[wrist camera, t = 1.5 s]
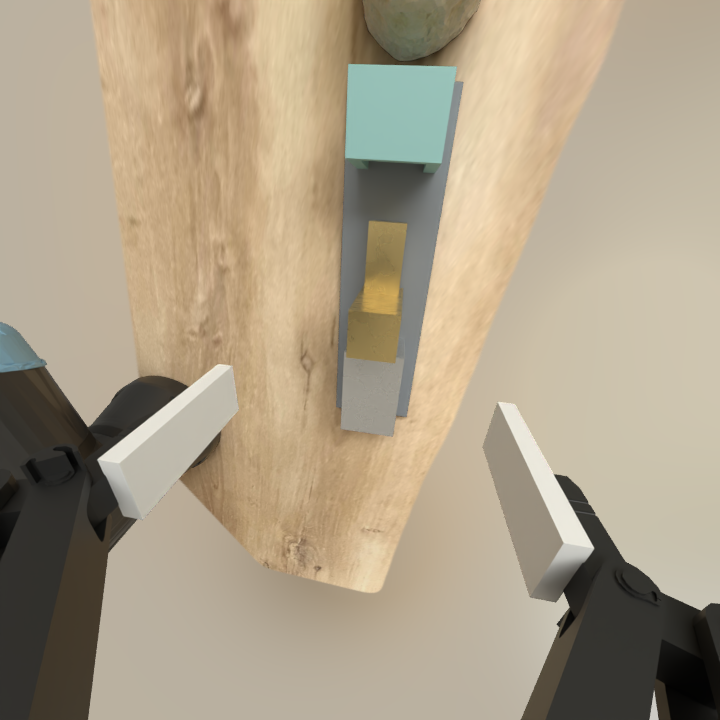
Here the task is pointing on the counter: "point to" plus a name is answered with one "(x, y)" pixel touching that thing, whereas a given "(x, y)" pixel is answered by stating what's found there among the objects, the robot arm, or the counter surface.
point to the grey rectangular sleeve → (371, 393)
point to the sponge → (416, 24)
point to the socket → (398, 114)
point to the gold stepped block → (379, 296)
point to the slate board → (422, 214)
